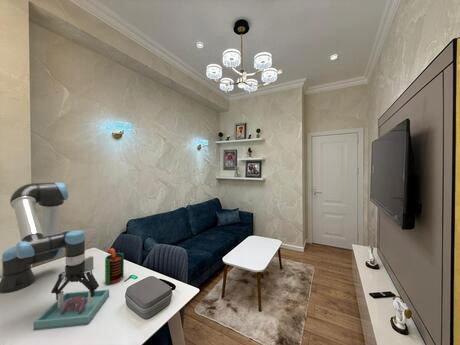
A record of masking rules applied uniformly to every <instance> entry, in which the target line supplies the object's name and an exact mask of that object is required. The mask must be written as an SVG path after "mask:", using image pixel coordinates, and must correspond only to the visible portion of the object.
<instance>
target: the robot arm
mask: <svg viewBox="0 0 460 345" xmlns="http://www.w3.org/2000/svg"><path fill="white" fill-rule="evenodd" d="M68 199H69V190H68V188H67V186H66V184H65V183H64V182H56V181H55V182H40V183H39V182H38V183H37V182H35V183H34V182H33V183H26V184H24V185H22V186H20V187H18V188H17V189H16V190H15V191H14V192H13V193H12V195H11V196H10V200H9V204H10V207H11V208H12V209H13V210H14V213H15V217H16V221H17V222H16V223H17V226H18V231H19V232H18V233H19V236H20V240H21V241H19V242H17V243H16V245H15V246H13V247H10V248H8V249H6V250H5V251H4V252H2V258H1V262H2V264H1V265H2V268H1V269H2V272H1V273H2V274H1V276H2V277H1V279H0V292H8V293H12V292H15V291H19V290H22V289H24V288H26V287H28V286H31V285H32V284H33V283H34V282H35V281H36V276H35V274H34V272H33V270H32V265H35V264H38V263H42V262H45V261H49V260H53V259H55V258H59V257H60V256H61V255H62V253H63V250H64V249H65V266H66V273H65V271H62V272H61V273H59V274H58V278H57V281H56V282H55V284H54V285H53V288H52V290H51V292H50V293H51V294H55V298H56V299H55V300H56V301H57V300H58V308H59V307H61V306H62V305H63V304H64V294H65V292H64V290H63V289H64V288H66V286H67V285H68V283H74V282H75V283H78V282H79V283H81V284H82V285H83V286H84V287H85V288H86V289H88V291H89V292H88V305H90V304H91V303H92V302H93V296H94V295H95V291H96V290H98V288H99V287H100V285H99V283H98V281H97V279H96V278H95V276H94V274H93V271H92V270H89V271H86V272H85V261H84V260H85V258H86V250H85V249H86V241H85V240H86V235H85V234H86V233H85V231H84V230H80V229H79V230H77V229H76V230H63V231H61V232H60V233H59V227H60V226H59V225H60V215H61V214H60V213H61V212H60V211H61V206H63V204H64V202H65V201H67V200H68ZM37 203H38V205H39V206H40V207H41V215H40V219H39V215H38V211H37V208H36V204H37ZM65 276H66V278H67V280H65V281H64V282H63V280H64V279H65ZM62 282H63V283H62ZM61 283H62V285H61ZM60 285H61V286H60Z"/></svg>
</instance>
